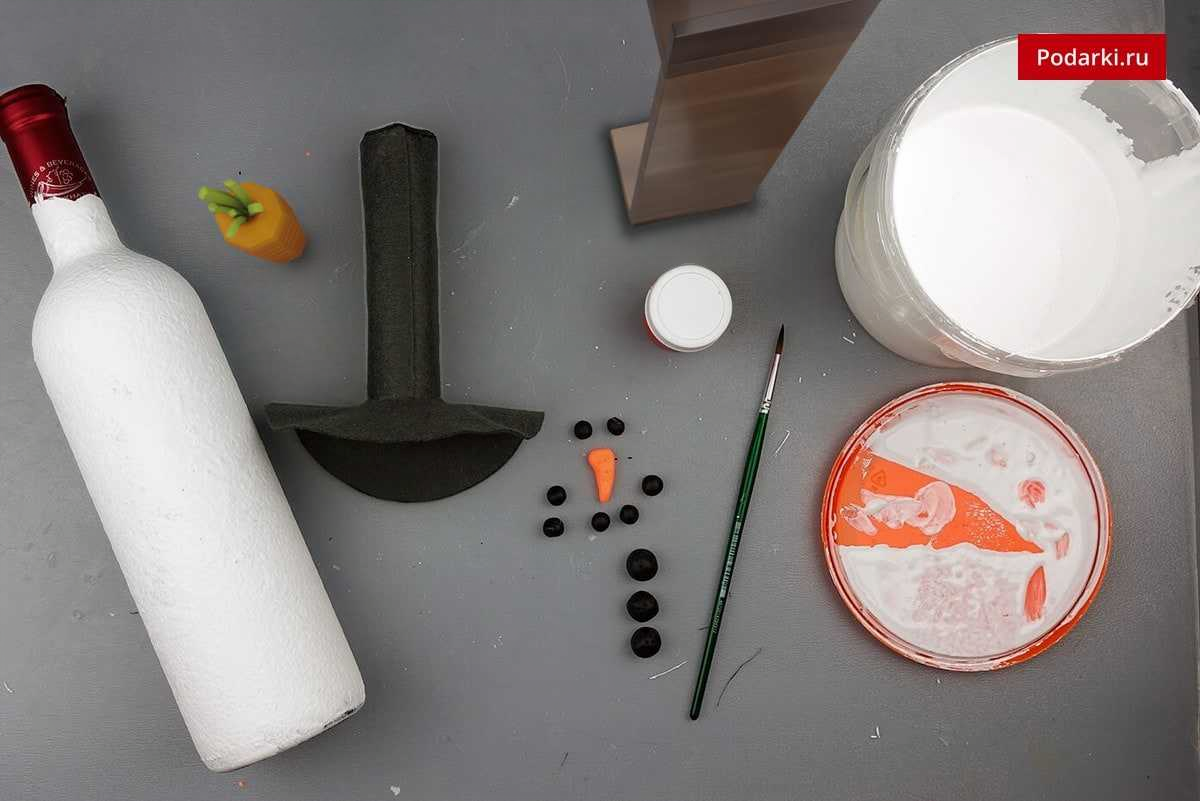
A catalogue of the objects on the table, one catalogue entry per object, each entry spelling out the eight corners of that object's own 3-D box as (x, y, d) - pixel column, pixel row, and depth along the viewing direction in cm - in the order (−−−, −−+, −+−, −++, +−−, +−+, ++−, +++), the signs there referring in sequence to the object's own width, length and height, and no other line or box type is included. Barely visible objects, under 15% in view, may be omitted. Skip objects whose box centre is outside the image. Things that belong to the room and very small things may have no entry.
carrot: (339, 248, 73) (278, 193, 58) (297, 293, 73) (225, 249, 58) (294, 207, 73) (222, 142, 58) (252, 252, 73) (168, 198, 58)
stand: (609, 134, 74) (629, -69, 46) (726, 109, 75) (819, -107, 46) (631, 227, 74) (665, 80, 45) (749, 202, 74) (856, 40, 46)
